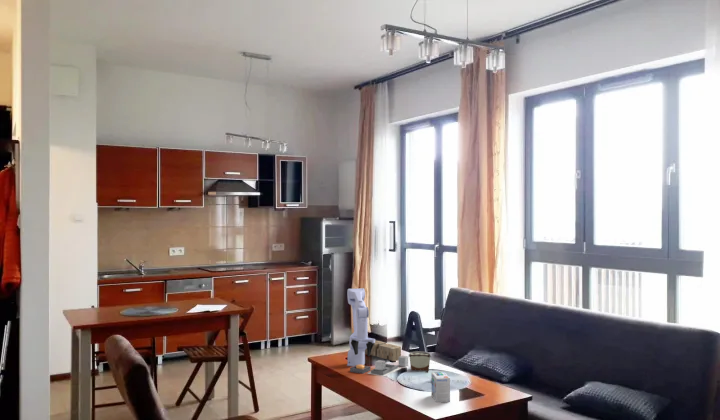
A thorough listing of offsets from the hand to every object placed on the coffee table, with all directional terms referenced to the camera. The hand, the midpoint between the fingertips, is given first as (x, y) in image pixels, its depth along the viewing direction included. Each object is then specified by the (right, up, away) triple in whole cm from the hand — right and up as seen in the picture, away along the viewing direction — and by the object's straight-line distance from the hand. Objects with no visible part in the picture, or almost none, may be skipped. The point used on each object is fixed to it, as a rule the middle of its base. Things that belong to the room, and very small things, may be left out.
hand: (362, 355), depth 305 cm
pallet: (+12, -9, 0) cm, 15 cm away
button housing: (-1, -9, -1) cm, 9 cm away
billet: (+23, -10, +10) cm, 27 cm away
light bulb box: (+36, -8, -46) cm, 59 cm away
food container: (+31, -10, +3) cm, 33 cm away
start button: (-1, -8, -1) cm, 9 cm away
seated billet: (+10, -8, -4) cm, 13 cm away
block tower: (+12, -11, +39) cm, 42 cm away
